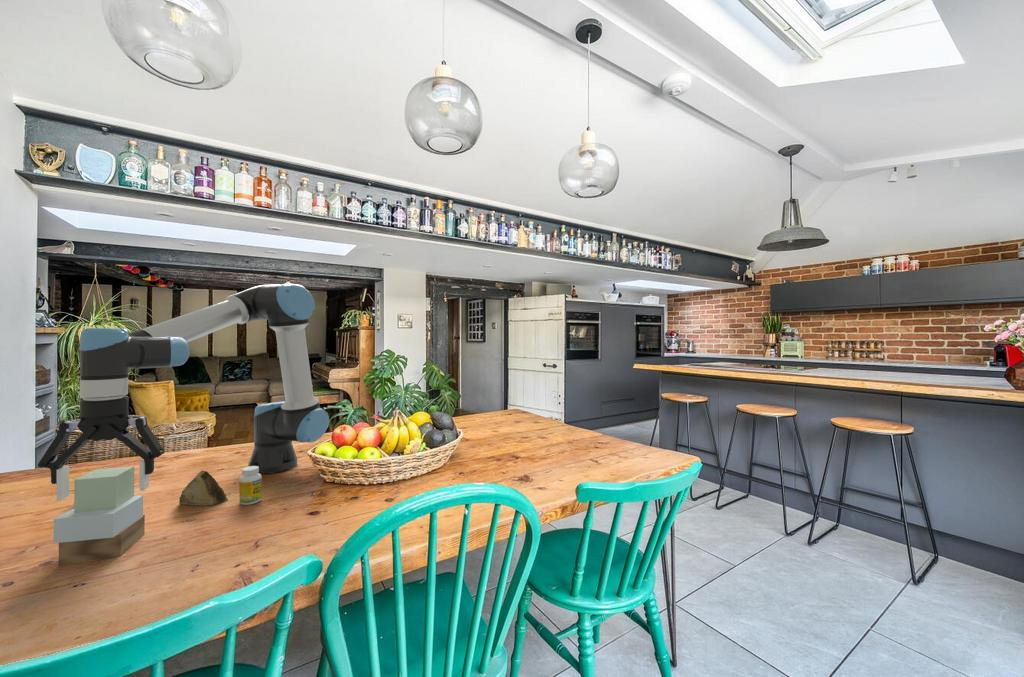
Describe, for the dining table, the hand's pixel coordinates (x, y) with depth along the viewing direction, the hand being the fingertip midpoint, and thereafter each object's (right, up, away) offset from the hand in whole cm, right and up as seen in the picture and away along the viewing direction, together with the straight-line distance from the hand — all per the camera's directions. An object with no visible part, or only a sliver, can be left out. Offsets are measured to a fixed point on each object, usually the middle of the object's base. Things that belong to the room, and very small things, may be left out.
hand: (104, 493), depth 89 cm
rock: (+3, -12, +24) cm, 27 cm away
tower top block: (0, -8, -1) cm, 8 cm away
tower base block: (0, -13, 0) cm, 13 cm away
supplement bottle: (+16, -12, +25) cm, 32 cm away
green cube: (0, -3, 0) cm, 3 cm away
